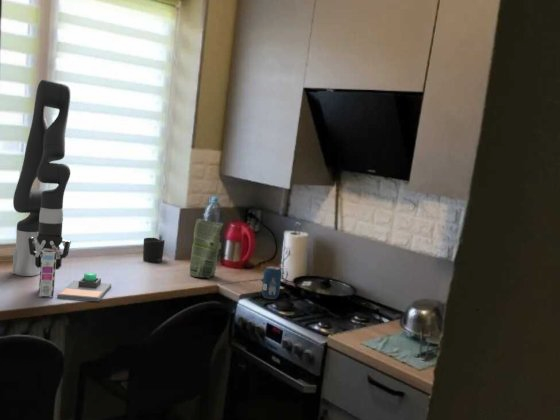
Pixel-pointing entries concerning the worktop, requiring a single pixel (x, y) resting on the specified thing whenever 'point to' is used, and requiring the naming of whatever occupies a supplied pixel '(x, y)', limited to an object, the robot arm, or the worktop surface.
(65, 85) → the robot arm
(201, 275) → the pouch
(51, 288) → the candy bar box
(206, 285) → the worktop surface
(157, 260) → the pen holder
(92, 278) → the button
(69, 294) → the activity board
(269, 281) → the soda can
